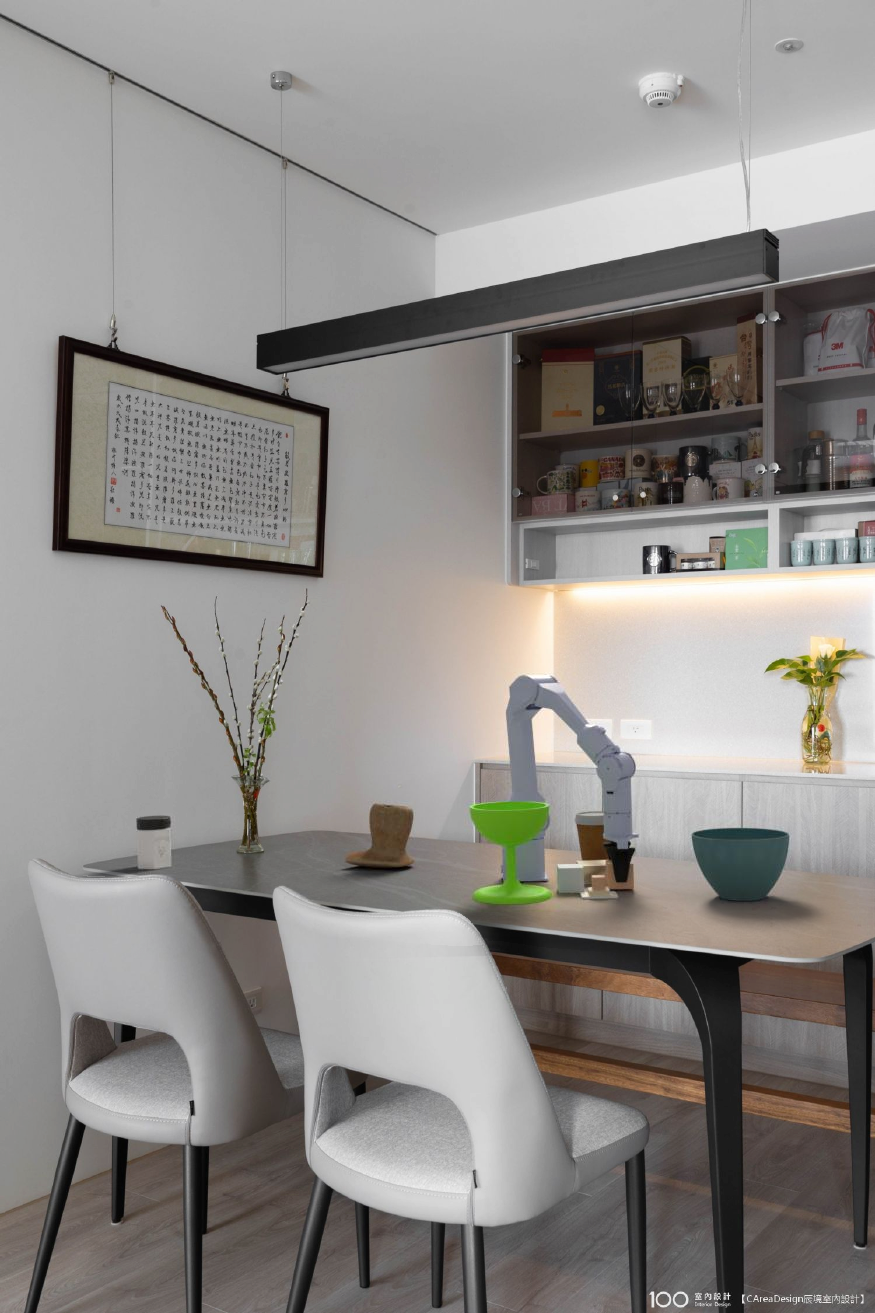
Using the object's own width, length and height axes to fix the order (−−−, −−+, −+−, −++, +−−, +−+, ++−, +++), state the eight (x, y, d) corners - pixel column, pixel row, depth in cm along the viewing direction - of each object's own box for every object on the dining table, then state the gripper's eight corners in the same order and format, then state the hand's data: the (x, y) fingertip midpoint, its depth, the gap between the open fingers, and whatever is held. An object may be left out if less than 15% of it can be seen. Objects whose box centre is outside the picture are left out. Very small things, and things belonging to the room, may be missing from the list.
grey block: (559, 893, 230) (558, 868, 230) (557, 888, 235) (556, 864, 235) (584, 892, 229) (583, 867, 229) (582, 888, 234) (581, 863, 234)
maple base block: (581, 885, 238) (581, 866, 238) (576, 879, 245) (576, 861, 245) (615, 884, 238) (614, 865, 238) (609, 878, 245) (608, 859, 245)
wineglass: (503, 886, 239) (500, 800, 239) (568, 893, 229) (565, 803, 229) (455, 899, 226) (453, 808, 227) (521, 907, 216) (518, 812, 216)
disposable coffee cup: (605, 871, 253) (603, 816, 253) (567, 868, 259) (566, 814, 259) (625, 864, 260) (623, 812, 261) (588, 861, 266) (587, 810, 266)
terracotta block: (608, 889, 229) (608, 864, 229) (606, 884, 234) (605, 860, 234) (634, 888, 229) (633, 863, 229) (630, 884, 234) (630, 859, 234)
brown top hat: (425, 864, 270) (423, 800, 270) (399, 872, 260) (397, 806, 260) (371, 861, 277) (369, 799, 278) (343, 869, 267) (341, 804, 267)
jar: (146, 871, 273) (145, 820, 273) (129, 867, 279) (128, 818, 279) (179, 865, 279) (178, 816, 279) (162, 862, 285) (161, 814, 285)
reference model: (582, 899, 222) (581, 879, 222) (580, 894, 227) (579, 874, 227) (618, 898, 222) (617, 878, 222) (615, 893, 227) (614, 873, 227)
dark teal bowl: (675, 893, 225) (673, 831, 225) (752, 885, 231) (750, 824, 232) (730, 910, 208) (727, 842, 208) (812, 900, 214) (809, 835, 215)
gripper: (642, 816, 224) (644, 885, 224) (632, 807, 239) (634, 872, 239) (606, 817, 225) (608, 886, 224) (598, 808, 239) (601, 873, 239)
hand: (619, 879), depth 232 cm, fingers closed on terracotta block, 5 cm apart
